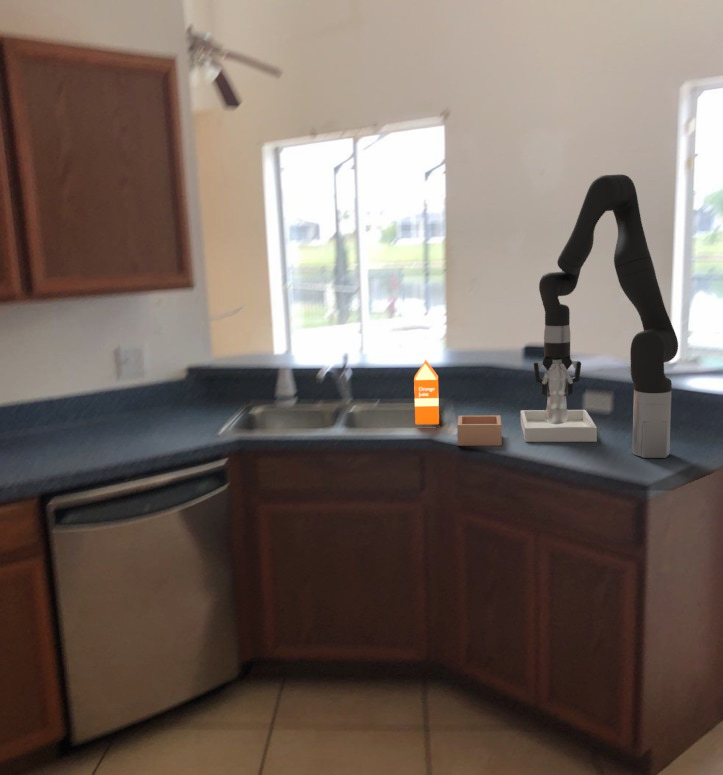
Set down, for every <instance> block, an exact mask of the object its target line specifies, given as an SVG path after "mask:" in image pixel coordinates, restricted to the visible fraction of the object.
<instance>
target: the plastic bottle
mask: <svg viewBox="0 0 723 775" xmlns="http://www.w3.org/2000/svg"><path fill="white" fill-rule="evenodd" d="M552 363H554V364H555V368H554V370H552V371H551V372H550V374H549V376H548V377H547V382H546V384H547V400H546V402H547V403H546V408H545V410H546V413H545V417H546V421H547V422H548V423H551V424H562V423H565V422H566V421H567V418H568V411H567V410H568V408H567V383H568V380H567V376H566V374H565V372H564V371H563V370H562V369H561V367H560V364H561V363H562V359H553V360H552Z"/></svg>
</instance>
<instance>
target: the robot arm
mask: <svg viewBox="0 0 723 775" xmlns="http://www.w3.org/2000/svg"><path fill="white" fill-rule="evenodd" d="M606 212H613V215H614V218H615V222H616V226H617V240H616V244H615V250H614V254H613V264H614V269H615V272H616V276H617V280H618V283H619V285H620V286H619V287H620V288H621V290H622V291H623V292H624V295H625V297H627V298H628V300H629V302H631V304H632V305H633V306H634V308H635V310H636V311H637V312H638V316H639V317H640V320H641V324H642V329H643V330H642V331H640V332H637V333H636V334H635V335H634V336H633V337H632V340H631V344H630V378H631V381H632V383H633V404H632V405H633V406H632V407H633V408H632V409H633V412H632V414H633V416H632V454H633V455H635V456H638V457H641V458H642V459H643V458H644V459H647V458H649V459H653V458H654V459H656V458H657V459H660V458H661V459H663V458H664V459H667V457H668V456H670V447H671V446H670V443H671V438H670V437H671V416H672V415H671V414H672V413H671V411H672V389H673V388H672V386H673V384H672V380H671V379H670V378H668V377H667V376H666V374H665V363H667V362H670V361H672V360H673V359H674V358H675V357H676V355H677V353H678V351H679V342H678V337H677V334H676V331H675V329H674V326H673V324H672V322H671V319H670V317H669V315H668V312H667V310H666V307H665V303H664V299H663V296H662V293H661V288H660V286H659V282H658V279H657V276H656V275H657V274H656V270H655V266H654V263H653V259H652V256H651V252H650V249H649V247H648V242H647V239H646V236H645V235H646V234H645V230H644V227H643V222H642V218H641V211H640V207H639V200H638V195H637V189H636V185H635V183H634V181H633V180H632V178H631V177H629V176H628V175H626V174H605V175H599V176H597V177H595V178H594V179H593V180H592V182H591V183H590V185H589V187H588V190H587V192H586V195H585V197H584V199H583V203H582V206H581V208H580V211H579V214H578V216H577V219H576V222H575V225H574V227H573V230H572V232H571V234H570V237H569V238H568V240H567V242H566V244H565V246H564V247H563V249H562V251H560V254H559V256H558V259H557V262H556V263H557V267H558V268H559V269H560V270H561V271H556V272H554V271H553V272H552V271H551V272H547V273H544V274H543V275H541V277H540V279H539V284H538V291H539V294H540V298H541V302H542V306H543V308H544V309H543V310H544V332H543V360H542V361H534V362H533V370H534V378H535V379H534V380H535V382H536V383H540V384H541V394H542V395H543V397H548V393H547V383H546V382H547V377H548V376H549V374H550V372H551V371H552V370H554V368H555V364H554V363H552V360H553V359H562V363H561V364H560V367H561V369H562V370H563V371H564V372H565V374H566V376H567V380H568V381H567V388H566V397H571V395H572V394H573V392H574V391H573V385H574V383H576V382H579V381H580V376H581V369H582V361H580V360H572V359H571V358H572V357H571V326H570V322H571V321H570V319H571V317H570V316H571V315H570V314H571V312H570V307H569V306H568V305H567V304H562V303H560V302H561V301H560V298H559V297H563V296H564V297H565V296H568V295H570V294H572V293H573V291H575V289H576V288H577V285H578V282H579V279H580V278H579V277H580V275H581V269H582V267H583V266H584V265H585V264H584V263H586V261H587V259H588V258H589V256H590V254H591V252H592V250H593V249H592V248H593V246H594V237H595V236H594V235H595V228H596V226H597V224H598V222H599V221H600V219H601V218H602V216H604V214H605V213H606ZM542 366H543V367H544V368H545V370H546V371H544V374H543V377H542V378H541V377H540V369H542ZM571 366H573V368H574V377H571V375H570V373H569V371H568V370H569V368H570V367H571Z"/></svg>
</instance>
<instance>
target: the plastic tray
mask: <svg viewBox="0 0 723 775" xmlns="http://www.w3.org/2000/svg"><path fill="white" fill-rule="evenodd" d="M567 411H568V418H567V421H566V422H565V423H562V424H551V423H548V422H547V421H546V417H545V413H546V409H545V410H544V409H542V410H541V409H539V410H537V409H536V410H535V409H534V410H533V409H528V410H525V409H524V410H523V409H522V410H521V409H520V426H521V430H522V433H523V438H524V442H527V443H530V442H531V443H532V442H534V443H540V442H542V443H543V442H544V443H545V442H548V443H549V442H552V443H553V442H560V443H561V442H563V443H565V442H567V443H568V442H576V443H577V442H583V443H585V442H595V443H597V442H598V427H597V425H596V424H595V422H594V421H593V419H592V417H591V416H590V414H589V413H588V411H587V410H586V409H567Z"/></svg>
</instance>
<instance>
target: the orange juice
mask: <svg viewBox="0 0 723 775" xmlns="http://www.w3.org/2000/svg"><path fill="white" fill-rule="evenodd" d="M413 383H414V385H413V386H414V387H413V389H414V417H415V418H414V420H415V425H439V424H440V414H439V413H440V412H439V410H440V407H439V404H440V403H439V375H438V374H437V373H436V371H435V370H434V369H433V367H432V366H431V364H430V363H429V362H428V360H427V359H425V360H424V362H423V363H422V365H421V366H420V367H419V369H418V371H417V372H416V374H415V375H414V379H413Z"/></svg>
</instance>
